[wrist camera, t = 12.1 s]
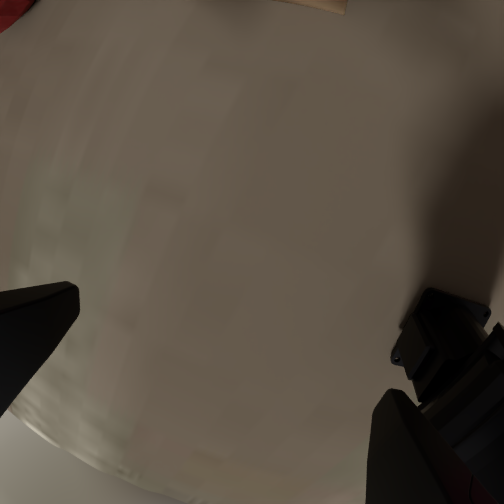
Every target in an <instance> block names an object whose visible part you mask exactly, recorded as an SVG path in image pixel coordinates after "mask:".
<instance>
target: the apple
mask: <svg viewBox="0 0 504 504" xmlns="http://www.w3.org/2000/svg"><path fill="white" fill-rule="evenodd" d="M34 1H35V0H0V33H2V32H3V31H4V30H6V29H7V28H9V27H10V26H11V25H12V24H13V23H14V22H16V21H17V20H18V19H19V18H20V17H21V16H22V15H23V14H24V13H25V12H26V11H27V10H28V9H29V8H30V7H31V5H32V4H33V2H34Z"/></svg>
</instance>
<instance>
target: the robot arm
mask: <svg viewBox="0 0 504 504" xmlns="http://www.w3.org/2000/svg"><path fill="white" fill-rule="evenodd" d="M430 294H433V295H432V297H430V298H428V296H429V295H430ZM486 311H487V312H486ZM485 312H486V313H485ZM79 313H80V299H79V288H78V287H77V286H76V285H75V284H72V283H70V282H68V281H63V282H57V283H51V284H45V285H39V286H33V287H27V288H20V289H14V290H8V291H2V292H0V418H1V416H2V415H3V414H4V412H5V411H6V410H7V408H8V407H9V406H10V404H11V403H12V402H13V401H14V399H15V398H16V397H17V395H18V394H19V393H20V392H21V390H22V389H23V388H24V387H25V385H26V384H27V383H28V382H29V380H30V379H31V378H32V377H33V376H34V374H35V373H36V372H37V371H38V369H39V368H40V367H41V366H42V365H43V363H44V362H45V361H46V360H47V359H48V358H49V356H50V355H51V354H52V353H53V351H54V350H55V348H56V347H57V346H58V344H59V343H60V341H61V340H62V338H63V337H64V336H65V334H66V333H67V331H68V330H69V328H70V327H71V326H72V324H73V323H74V322H75V320H76V319H77V317H78V315H79ZM484 313H485V314H484ZM490 315H491V309H490V308H489V307H488V306H486V305H483V304H480V303H477V302H474V301H471V300H468V299H465V298H462V297H459V296H456V295H453V294H450V293H447V292H444V291H441V290H438V289H434V288H428V289H426V290H425V292H424V293H423V296H422V298H421V300H420V302H419V304H418V306H417V308H416V310H415V312H414V313H413V314H412V315H411V316H410V318H409V320H408V322H407V323H406V325H405V327H404V329H403V331H402V333H401V335H400V337H399V338H398V340H397V346H396V347H395V349H394V351H393V353H392V354H391V357H390V359H391V363H392V364H394V365H398V366H402V367H404V368H405V372H406V375H407V378H408V380H412V382H413V386H414V389H415V392H416V396H417V399H418V402H421V404H420V405H419V406H418V407H417V406H416V405H415V404H414V403H413V402H412V400H411V399H410V398H409V397H408V396H407V395H406V393H405V392H404V391H402V390H398V389H393V388H391V389H388V390H387V391H386V392H385V394H384V395H383V397H382V398H381V400H380V401H379V403H378V404H377V405H376V407H375V409H374V411H373V414H372V423H371V432H370V441H369V449H368V458H367V480H366V503H365V504H504V327H503V326H502V325H501V324H500V323H499V322H498V323H497V324H496V325H495V326H494V327H493V331H492V332H491V334H490V335H488V334H487V332H486V331H485V330H484V326H485V324H486V323H487V321H488V319H489V317H490ZM397 357H399V358H398V359H395V358H397Z"/></svg>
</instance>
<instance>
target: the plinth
mask: <svg viewBox="0 0 504 504" xmlns="http://www.w3.org/2000/svg"><path fill="white" fill-rule="evenodd" d="M274 1H281V2H287V3H293V4H298V5H303V6H308V7H313V8H317V9H322V10H326V11H330V12H334V13H338V14H342V15H344V14H345V9H346V5H347V1H348V0H274Z"/></svg>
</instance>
